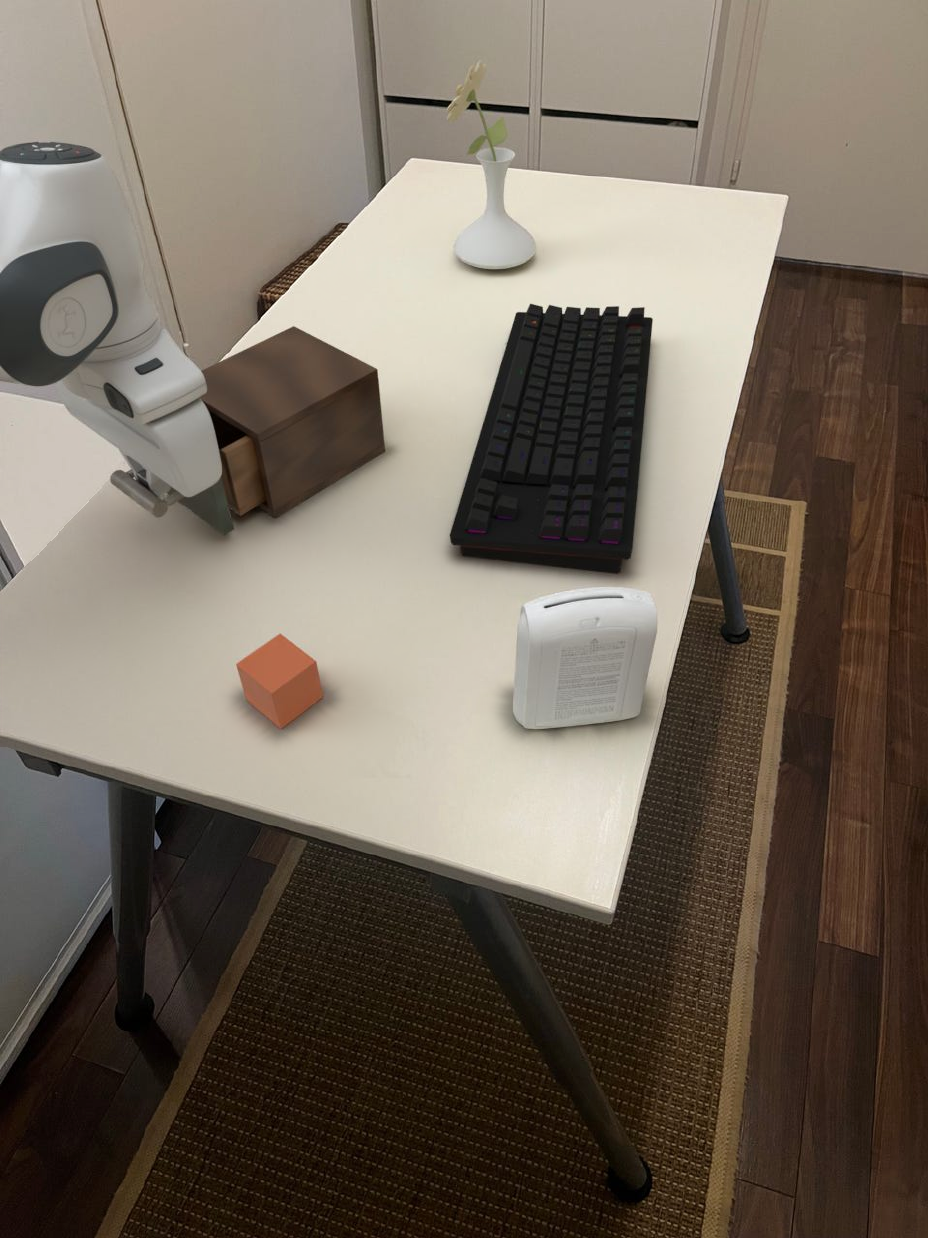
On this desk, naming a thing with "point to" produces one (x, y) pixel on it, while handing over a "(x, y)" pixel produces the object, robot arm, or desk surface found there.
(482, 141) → the flower in vase
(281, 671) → the block
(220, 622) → the desk surface
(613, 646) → the photo printer
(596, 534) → the keyboard
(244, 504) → the drawer
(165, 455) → the robot arm
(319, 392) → the cabinet
